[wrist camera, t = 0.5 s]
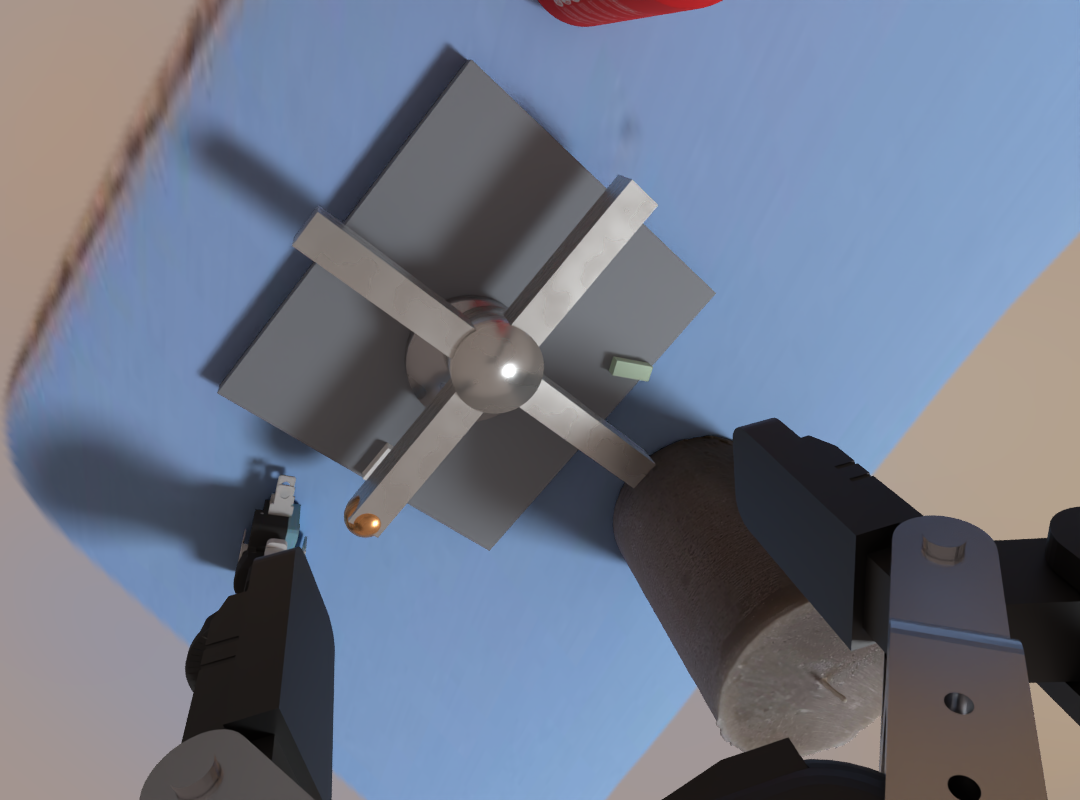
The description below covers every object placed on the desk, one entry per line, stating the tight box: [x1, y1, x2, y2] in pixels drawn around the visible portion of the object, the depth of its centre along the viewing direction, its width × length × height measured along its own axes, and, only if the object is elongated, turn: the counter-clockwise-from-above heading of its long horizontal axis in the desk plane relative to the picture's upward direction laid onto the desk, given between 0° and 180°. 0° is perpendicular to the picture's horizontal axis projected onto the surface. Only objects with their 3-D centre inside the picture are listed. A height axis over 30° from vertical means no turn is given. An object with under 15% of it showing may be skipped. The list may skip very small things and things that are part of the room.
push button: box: [185, 475, 307, 692], centre depth 33 cm, size 7×5×10 cm
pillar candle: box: [613, 436, 884, 757], centre depth 37 cm, size 10×10×15 cm
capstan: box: [292, 175, 658, 537], centre depth 33 cm, size 20×19×4 cm
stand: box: [217, 60, 716, 551], centre depth 35 cm, size 18×16×2 cm
